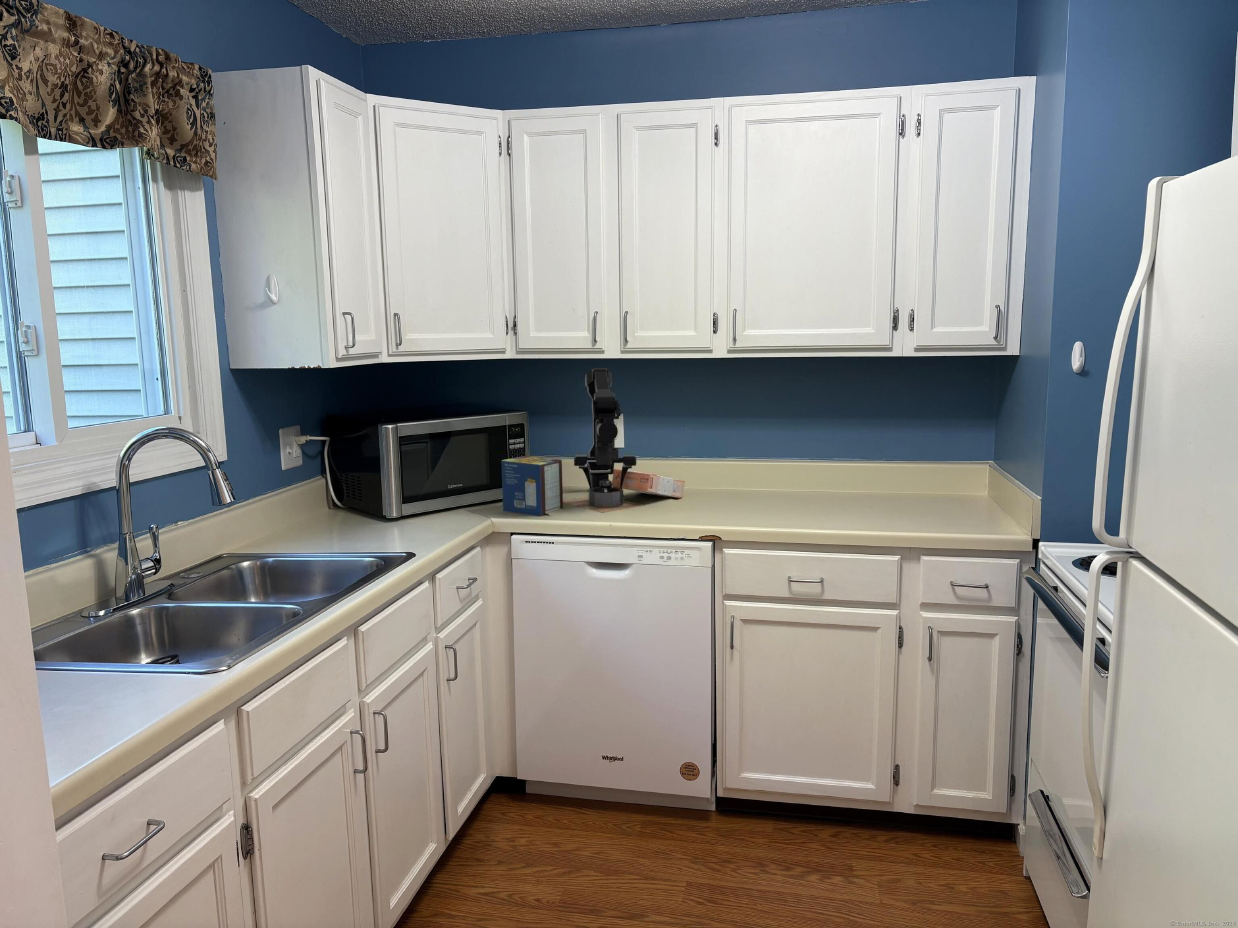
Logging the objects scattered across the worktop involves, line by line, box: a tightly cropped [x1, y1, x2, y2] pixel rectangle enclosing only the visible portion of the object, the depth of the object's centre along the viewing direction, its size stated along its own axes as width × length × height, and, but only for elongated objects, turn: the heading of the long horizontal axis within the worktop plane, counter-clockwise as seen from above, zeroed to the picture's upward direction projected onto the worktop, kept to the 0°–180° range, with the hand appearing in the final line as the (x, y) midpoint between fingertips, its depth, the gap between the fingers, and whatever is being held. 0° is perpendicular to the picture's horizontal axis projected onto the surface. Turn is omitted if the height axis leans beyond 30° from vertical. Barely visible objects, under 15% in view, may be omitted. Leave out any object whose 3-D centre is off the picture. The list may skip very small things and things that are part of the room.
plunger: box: [600, 479, 612, 492], centre depth 262 cm, size 7×7×7 cm
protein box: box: [500, 455, 564, 517], centre depth 257 cm, size 10×15×16 cm
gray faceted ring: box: [587, 487, 624, 508], centre depth 263 cm, size 13×10×4 cm
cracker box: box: [611, 468, 686, 499], centre depth 271 cm, size 14×6×21 cm
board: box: [563, 496, 645, 514], centre depth 264 cm, size 22×16×1 cm
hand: (605, 488), depth 261 cm, fingers open, 9 cm apart
